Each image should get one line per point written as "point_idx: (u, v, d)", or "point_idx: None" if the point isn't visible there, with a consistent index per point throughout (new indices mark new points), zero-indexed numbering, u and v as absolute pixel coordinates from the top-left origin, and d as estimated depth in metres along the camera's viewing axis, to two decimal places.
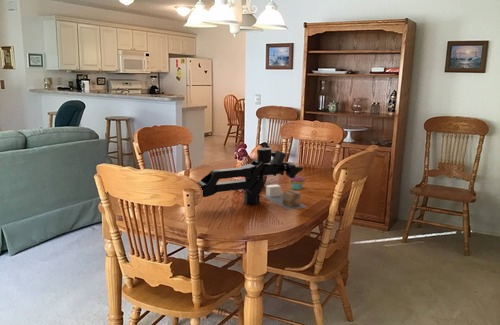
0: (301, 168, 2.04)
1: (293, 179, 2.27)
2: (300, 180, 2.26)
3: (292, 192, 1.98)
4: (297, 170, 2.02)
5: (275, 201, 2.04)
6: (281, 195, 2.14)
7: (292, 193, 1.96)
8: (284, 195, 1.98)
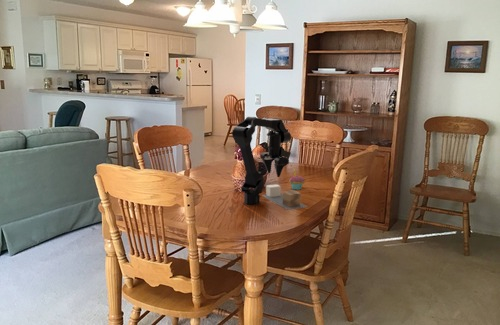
0: (279, 175, 2.07)
1: (293, 179, 2.27)
2: (300, 180, 2.26)
3: (292, 192, 1.98)
4: (279, 170, 2.05)
5: (275, 201, 2.04)
6: (281, 195, 2.14)
7: (292, 193, 1.96)
8: (284, 195, 1.98)
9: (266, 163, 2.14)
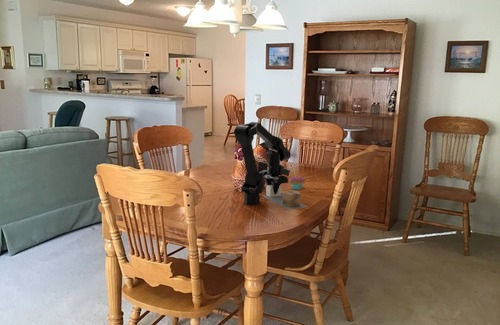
0: (276, 192, 2.11)
1: (293, 179, 2.27)
2: (300, 180, 2.26)
3: (292, 192, 1.98)
4: (276, 187, 2.10)
5: (275, 201, 2.04)
6: (281, 195, 2.14)
7: (292, 193, 1.96)
8: (284, 195, 1.98)
9: (268, 182, 2.14)
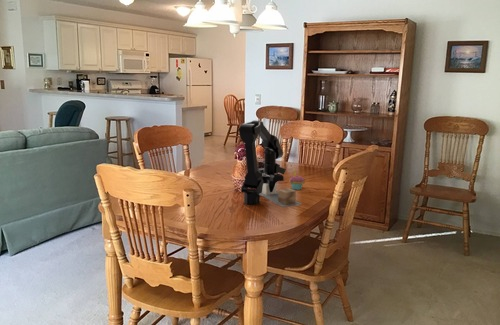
0: (272, 190, 2.15)
1: (293, 179, 2.27)
2: (300, 180, 2.26)
3: (288, 190, 2.02)
4: (271, 185, 2.13)
5: (271, 199, 2.07)
6: (277, 193, 2.17)
7: (287, 191, 2.00)
8: (279, 193, 2.02)
9: (264, 180, 2.17)
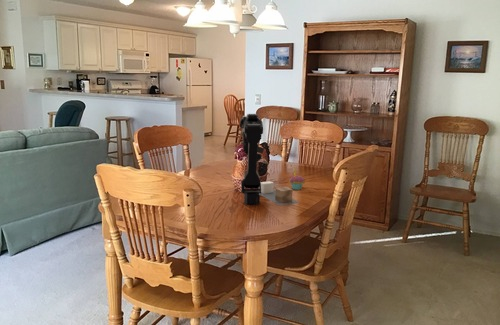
0: None
1: (293, 179, 2.27)
2: (300, 180, 2.26)
3: (285, 188, 2.04)
4: None
5: (268, 197, 2.10)
6: (274, 192, 2.20)
7: (284, 189, 2.02)
8: (276, 191, 2.04)
9: None
